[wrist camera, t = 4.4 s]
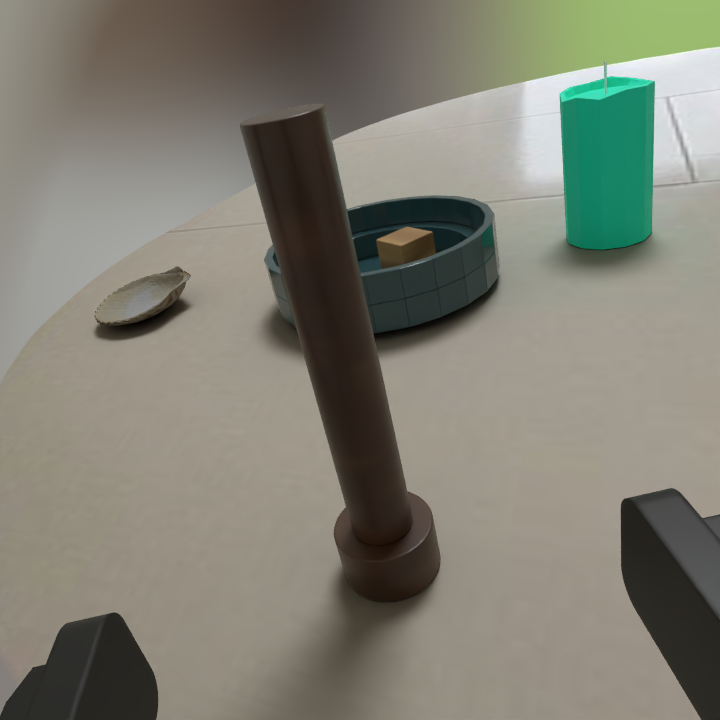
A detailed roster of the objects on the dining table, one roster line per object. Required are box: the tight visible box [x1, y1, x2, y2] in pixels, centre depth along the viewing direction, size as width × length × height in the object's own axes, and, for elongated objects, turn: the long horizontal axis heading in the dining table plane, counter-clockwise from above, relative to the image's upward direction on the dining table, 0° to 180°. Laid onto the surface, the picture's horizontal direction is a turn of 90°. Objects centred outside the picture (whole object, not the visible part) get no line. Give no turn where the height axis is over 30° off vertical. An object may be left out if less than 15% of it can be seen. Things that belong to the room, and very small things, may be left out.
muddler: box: [240, 104, 440, 602], centre depth 20 cm, size 4×4×16 cm
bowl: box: [264, 196, 499, 334], centre depth 45 cm, size 16×16×4 cm
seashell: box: [95, 266, 191, 326], centre depth 52 cm, size 8×3×8 cm
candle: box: [560, 62, 655, 250], centre depth 44 cm, size 6×6×12 cm
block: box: [376, 227, 436, 269], centre depth 46 cm, size 3×3×3 cm
